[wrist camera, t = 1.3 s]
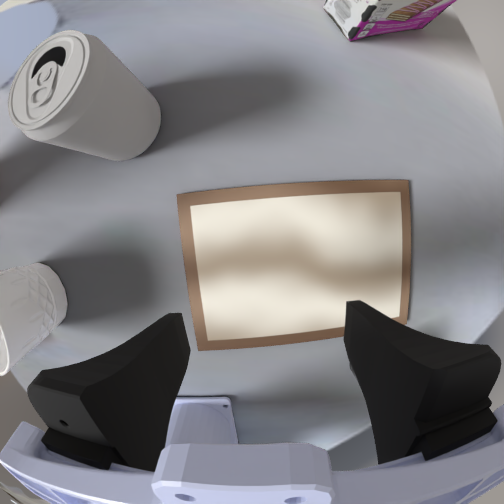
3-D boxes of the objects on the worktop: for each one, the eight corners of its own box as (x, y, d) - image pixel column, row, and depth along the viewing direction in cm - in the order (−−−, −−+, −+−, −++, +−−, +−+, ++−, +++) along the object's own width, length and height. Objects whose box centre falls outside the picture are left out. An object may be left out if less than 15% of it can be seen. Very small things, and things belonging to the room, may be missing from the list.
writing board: (403, 321, 24) (407, 324, 23) (199, 347, 24) (198, 351, 23) (404, 180, 22) (408, 180, 21) (178, 194, 22) (176, 194, 21)
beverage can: (166, 87, 20) (107, 8, 8) (162, 159, 21) (82, 121, 9) (100, 98, 20) (18, 46, 8) (94, 166, 21) (-6, 148, 9)
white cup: (15, 257, 22) (-52, 278, 12) (66, 256, 22) (-9, 282, 12) (28, 326, 23) (-28, 364, 14) (79, 334, 24) (22, 385, 14)
